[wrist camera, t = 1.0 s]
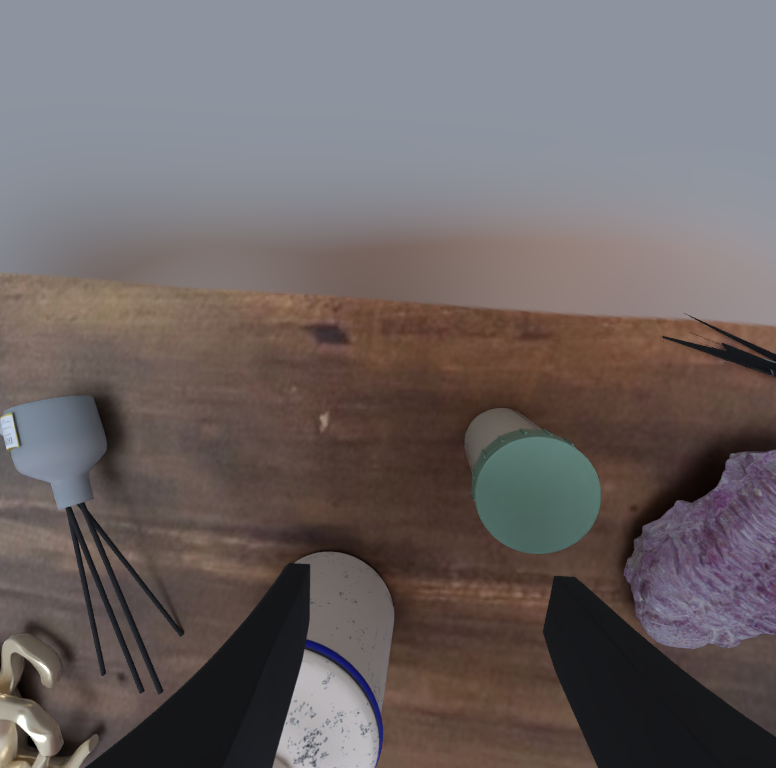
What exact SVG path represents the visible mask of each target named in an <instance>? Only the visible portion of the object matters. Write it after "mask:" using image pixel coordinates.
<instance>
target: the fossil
mask: <svg viewBox="0 0 776 768" xmlns="http://www.w3.org/2000/svg"><path fill="white" fill-rule="evenodd" d="M624 576H625V577H626V581H627V582H628V583H629V584H630V586H631V591H632V593H633V597H634V603H635V613H636V615H635V616H636V617H637V618H638V619H639V621H640V623H641V625H642V627H643V628H644V630H645V631H646V632H647V634H648V635H649V636H650V637H651V638H652V639H654V640H655V641H657V642H658V643H661V644H663V645H667V646H671V647H680V648H690V649H697V648H698V647H703V646H705V645H706V644H708V643H710V644H715V645H717V646H719V647H725V648H732V647H735V646H739V645H740V643H741V641H742V640H743V639H748V638H753V637H758V636H759V634H763V633H765V634H771V635H774V634H776V449H775V450H767V451H765V452H757V451H756V452H751V451H746V452H738V453H734V454H730V457H729V459H728V460H727V461H726V463H725V471H724V472H723V474H722V477H721V480H720V481H719V483H718V485H717V487H716V488H715V489H714V490H712V491H710V492H709V493H708V494H706V495H705V496H704V497H702V498H699V499H698V500H696V501H694V502H693V503H690V502H687V501H684V500H679V501H676V503H675V505H674V506H673V507H672V508H671V509H669V510H668V511H667V512H666V513H665V514H664V515H663V516H662V517H661V518H660V519H658V520H655V521H653V522H651V523H649V524H647V525H644V526H643V529H642V535H641V536H639V537H638V538H636V539H635V540H634V552H633V554H632V556H631V557H629V558H628V560H627V564H626V567H625V569H624Z"/></svg>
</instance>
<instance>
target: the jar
mask: <svg viewBox="0 0 776 768" xmlns="http://www.w3.org/2000/svg"><path fill="white" fill-rule="evenodd" d="M520 428H523V429H537V430H542V429H541V428H540V427H538V426H537V425H536V424H534V423H533V422H532V421H531V420H529V419H528V418H527V417H525V416H524V415H523V414H521V413H519V412H517V411H515V410H512V409H508V408H495V409H491V410H488V411H485V412H483V413H481V414H480V415H478V416H477V417H476V418H475V419H474V420H473V421H472V422H471V424H470V425H469V427H468V429H467V431H466V434H465V440H464V447H465V452H466V455H467V459H468V462H469V465H470V468H471V470H472V469H474V466H475V464H476V461H477V459H478V458H479V456H480V454H481V450H482V449H483V450H484V449H485V448H486V447H487V446H488V445H489V444H490V443H491V442H493V441H494V440H495V439H497V438H498V435H500V436H502V435H504V434H506V433H509V432H512V431H516V430H520ZM471 472H472V471H471Z"/></svg>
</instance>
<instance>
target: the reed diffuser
mask: <svg viewBox="0 0 776 768" xmlns="http://www.w3.org/2000/svg"><path fill="white" fill-rule="evenodd" d="M3 414H4V415H3V416H2V417H0V434H1V435H3V436H4V439H5V444H6V449H7V451H9V450H10V451H11V455H12V459H13V462H14V464H15V467H16V469H17V470H18V471H19V472H20V473H22V474H24V475H26V476H29V477H33V478H36V479H39V480H42V481H46V482H49V483H51V486H52V489H53V493H54V496H55V500H56V503H57V507H58V510H59V509H63V508H66V512H67V516H68V521H69V526H70V530H71V535H72V540H73V544H74V549H75V554H76V558H77V563H78V568H79V572H80V577H81V582H82V587H83V591H84V596H85V601H86V605H87V610H88V615H89V619H90V624H91V629H92V633H93V638H94V643H95V647H96V652H97V657H98V662H99V666H100V671H101V676H104V675H105V674H106V671H105V666H104V661H103V656H102V652H101V647H100V642H99V638H98V633H97V628H96V623H95V619H94V614H93V609H92V604H91V600H90V595H89V590H88V585H87V581H86V576H85V571H84V567H83V562H82V557H81V552H80V548H79V543H80V545H81V548H82V550H83V553H84V555H85V558H86V560H87V563H88V565H89V568H90V570H91V573H92V575H93V578H94V580H95V583H96V585H97V588H98V590H99V593H100V595H101V598H102V600H103V603H104V605H105V608H106V610H107V613H108V615H109V618H110V620H111V623H112V625H113V628H114V630H115V633H116V635H117V638H118V640H119V643H120V645H121V648H122V650H123V653H124V655H125V658H126V660H127V663H128V665H129V668H130V670H131V673H132V675H133V678H134V680H135V683H136V685H137V688H138V690H139V693H140V694H141V693H142V692H144V688H143V685H142V683H141V680H140V678H139V675H138V673H137V670H136V668H135V665H134V663H133V660H132V658H131V655H130V653H129V650H128V648H127V645H126V643H125V640H124V638H123V635H122V633H121V630H120V628H119V625H118V623H117V620H116V618H115V615H114V613H113V610H112V608H111V605H110V603H109V600H108V598H107V595H106V593H105V590H104V588H103V585H102V583H101V580H100V578H99V575H98V573H97V570H96V568H95V565H94V563H93V560H92V558H91V555H90V553H89V550H88V548H87V545H86V543H85V541H84V538H83V536H82V533H81V531H80V528H79V526H78V523H77V521H76V518H75V516H74V513H73V511H72V508H71V506H73V505H76V504H77V505H78V507H79V508H80V509H81V510H82V512H83V514H84V517H85V519H86V522H87V524H88V526H89V529H90V531H91V534H92V536H93V538H94V541H95V543H96V546H97V548H98V550H99V553H100V555H101V558H102V560H103V562H104V565H105V567H106V570H107V572H108V574H109V577H110V579H111V582H112V584H113V586H114V589H115V591H116V594H117V596H118V598H119V601H120V603H121V606H122V608H123V610H124V613H125V615H126V618H127V620H128V622H129V625H130V627H131V630H132V632H133V634H134V637H135V639H136V642H137V644H138V646H139V649H140V651H141V654H142V656H143V659H144V661H145V663H146V666H147V668H148V671H149V673H150V675H151V678H152V680H153V683H154V685H155V687H156V690H157V692H158V695H159V694H161V693H162V692H163V689H162V686H161V684H160V682H159V679H158V677H157V675H156V672H155V670H154V667H153V665H152V663H151V660H150V658H149V655H148V653H147V651H146V648H145V646H144V643H143V641H142V639H141V636H140V634H139V632H138V629H137V627H136V624H135V622H134V620H133V617H132V615H131V612H130V610H129V608H128V605H127V603H126V601H125V598H124V596H123V593H122V591H121V589H120V586H119V584H118V581H117V579H116V577H115V574H114V572H113V570H112V567H111V565H110V562H109V560H108V558H107V555H106V553H105V550H104V548H103V546H102V543H101V541H100V539H99V536H98V534H97V531H98V532H99V533H100V535H101V536H102V537H103V539H104V540H105V541H106V542H107V544H108V545H109V546H110V548H111V549H112V550H113V551H114V553H115V554H116V555H117V557H118V558H119V559H120V560H121V562H122V563H123V564H124V565H125V567H126V568H127V569H128V571H129V572H130V573H131V574H132V576H133V577H134V578H135V580H136V581H137V582H138V583H139V585H140V586H141V587H142V588H143V590H144V591H145V592H146V594H147V595H148V596H149V597H150V599H151V600H152V601H153V603H154V604H155V605H156V606H157V608H158V609H159V610H160V612H161V613H162V614H163V615H164V617H165V618H166V619H167V620H168V622H169V623H170V624H171V626H172V627H173V628H174V629H175V631H176V632H177V633H178V635H179V636H180V637H181V636H182V635H183V634H184V633H183V632H182V631H181V630H180V628H179V627H178V626H177V624H176V623H175V622H174V621H173V619H172V618H171V617H170V615H169V614H168V613H167V612H166V610H165V609H164V608H163V606H162V605H161V604H160V603H159V601H158V600H157V599H156V597H155V596H154V595H153V594H152V592H151V591H150V590H149V588H148V587H147V586H146V585H145V583H144V582H143V581H142V579H141V578H140V577H139V575H138V574H137V573H136V572H135V570H134V569H133V568H132V566H131V565H130V564H129V563H128V561H127V560H126V559H125V557H124V556H123V555H122V554H121V552H120V551H119V550H118V548H117V547H116V546H115V545H114V543H113V542H112V541H111V539H110V538H109V537H108V536H107V534H106V533H105V532H104V530H103V529H102V528H101V527H100V525H99V524H98V523H97V521H96V520H95V519H94V518H93V516H92V515H91V514H90V512H89V511H88V510H87V508H86V505H85V503H84V502H85V501H88V500H91V499H94V497H93V493H92V489H91V484H90V480H89V475H88V472H89V471H90V470H91V469H92V468H93V466H94V465H95V464H96V463H97V462H98V461H99V460H100V459H101V457H102V456H103V455H104V454H105V452H106V449H107V442H106V436H105V433H104V429H103V426H102V423H101V420H100V416H99V413H98V410H97V407H96V404H95V401H94V398H93V397H92V396H87V395H77V396H65V397H57V398H50V399H44V400H39V401H34V402H30V403H25V404H22V405H18V406H15V407H12V408H9V409H7V410H5V411H4V412H3ZM95 528H96V529H95ZM96 530H97V531H96ZM78 540H79V543H78Z"/></svg>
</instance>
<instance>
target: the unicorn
mask: <svg viewBox="0 0 776 768" xmlns="http://www.w3.org/2000/svg"><path fill="white" fill-rule="evenodd" d="M25 658H26V659H27V660H29V661H30V662H31V663H32V665H33V666H34V667H35V668H36V670H37V671H38V672H39V674H40V677H41V682H42V684H43V685H44V686H46V687H48V688H52V687H53V686H55V685H56V684H57V683H58V681H59V680H60V678H61V676H62V661H61V659H60V657H59V656H58V654H57V653H56V652H55V651H54V650H53V649H52V648H51V647H49V646H48V645H46V644H45V643H43V642H42V641H40V640H39V639H38V638H36V637H35V636H34V635H32V634H30V633H25V632H22V633H16V634H14V635H12V636H10V637H9V638H8V639H7V640H6V641H5V642H4V643H3V646H2V651H1V669H0V768H80V766H81V765H82V763H83V762H84V760H85V758H86V757H87V755H88V754H89V753H90V752H92V751H93V749H94V748H95V747H96V745H97V743H98V739H99V738H98V734H95V735H93V736H91V737H90V738H88V739H87V740H86V741H85V742H83V743H82V744H81V745H80V746H79V747H78V748H77V750H76V751H75V752H74V754H73V755H70V756H58V755H55V754H57V753H58V752H59V751H60V750H61V748H62V746H63V743H64V740H63V737H62V733H61V729H60V727H59V725H58V723H57V721H56V720H55V719H54V718H53V717H51V716H50V715H49V714H48V713H47V712H46V711H45V710H44V709H43V708H42V707H41V706H40V705H39V704H38V703H37V702H35V701H34V700H31V699H25V698H22V696H21V694H20V692H19V690H18V688H17V685H18V683H19V681H20V679H21V677H22V674H23V671H24V667H25ZM28 735H29V736H30V737H31V738H32V740H33V741H34V743H35V744H36V746H37V748H38V749H36V748H33V747H31V746H30V745H28V744H27V743H28Z"/></svg>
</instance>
